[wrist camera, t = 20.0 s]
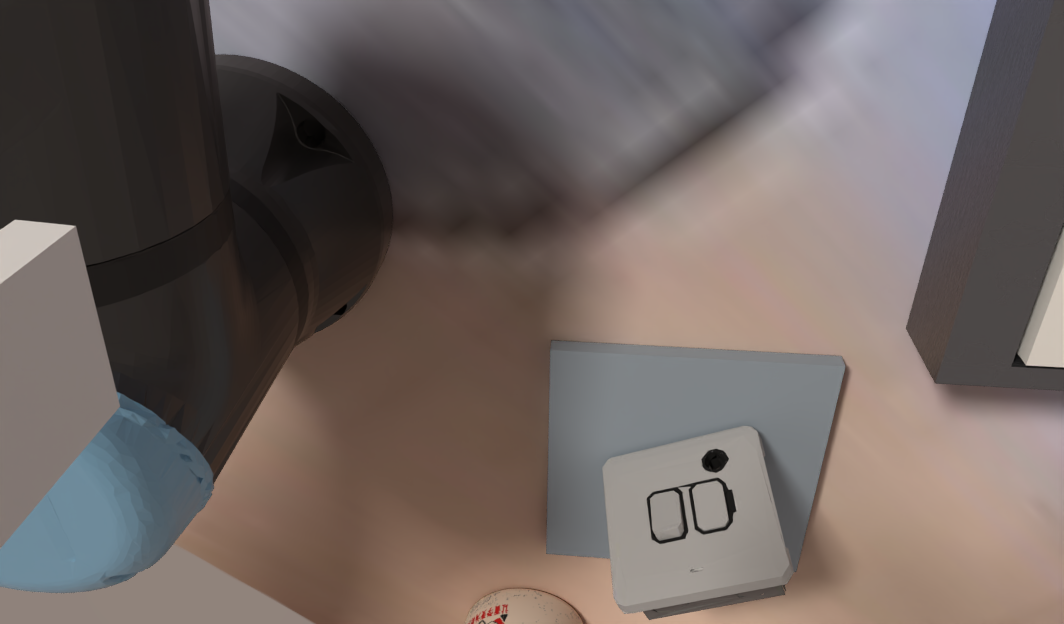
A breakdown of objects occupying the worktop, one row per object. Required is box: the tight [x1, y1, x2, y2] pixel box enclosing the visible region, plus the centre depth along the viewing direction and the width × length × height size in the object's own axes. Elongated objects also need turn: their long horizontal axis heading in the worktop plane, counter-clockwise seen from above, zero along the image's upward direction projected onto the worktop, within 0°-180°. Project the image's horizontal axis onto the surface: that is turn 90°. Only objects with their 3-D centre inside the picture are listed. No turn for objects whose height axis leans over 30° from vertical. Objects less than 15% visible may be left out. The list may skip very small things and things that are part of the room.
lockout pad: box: [546, 340, 845, 572], centre depth 51 cm, size 16×16×1 cm
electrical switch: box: [602, 426, 794, 620], centre depth 47 cm, size 9×5×9 cm, turn 112°
